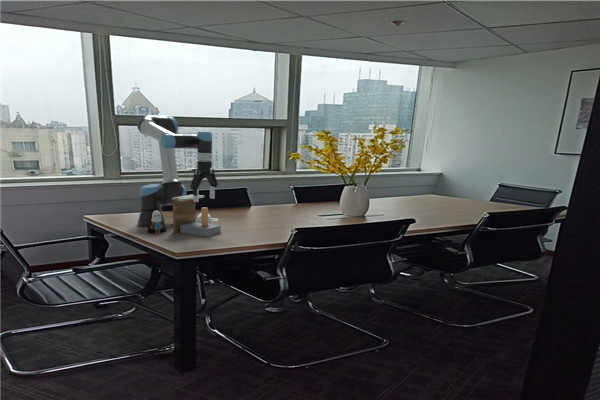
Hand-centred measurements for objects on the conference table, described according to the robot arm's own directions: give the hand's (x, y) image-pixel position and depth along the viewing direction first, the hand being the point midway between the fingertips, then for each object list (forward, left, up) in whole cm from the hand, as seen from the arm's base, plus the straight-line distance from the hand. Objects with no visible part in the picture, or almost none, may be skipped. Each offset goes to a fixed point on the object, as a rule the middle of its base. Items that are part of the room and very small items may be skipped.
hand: (204, 200), depth 238 cm
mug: (-9, +14, -19) cm, 25 cm away
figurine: (-23, -12, -19) cm, 32 cm away
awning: (-11, 0, -18) cm, 21 cm away
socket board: (-3, 0, -18) cm, 18 cm away
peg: (0, 0, -18) cm, 18 cm away
